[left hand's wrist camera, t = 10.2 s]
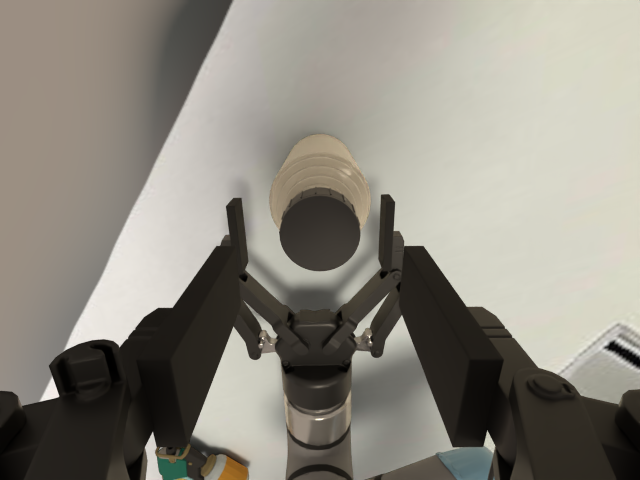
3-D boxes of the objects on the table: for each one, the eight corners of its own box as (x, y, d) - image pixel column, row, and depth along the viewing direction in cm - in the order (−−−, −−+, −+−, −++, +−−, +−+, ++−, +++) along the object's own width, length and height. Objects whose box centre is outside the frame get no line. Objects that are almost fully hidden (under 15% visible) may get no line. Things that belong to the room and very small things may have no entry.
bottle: (295, 125, 35) (270, 151, 17) (362, 144, 36) (403, 188, 18) (279, 192, 38) (243, 273, 20) (342, 208, 38) (361, 301, 21)
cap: (292, 177, 20) (289, 184, 18) (367, 197, 20) (372, 207, 18) (274, 247, 21) (270, 261, 19) (345, 265, 21) (347, 279, 20)
